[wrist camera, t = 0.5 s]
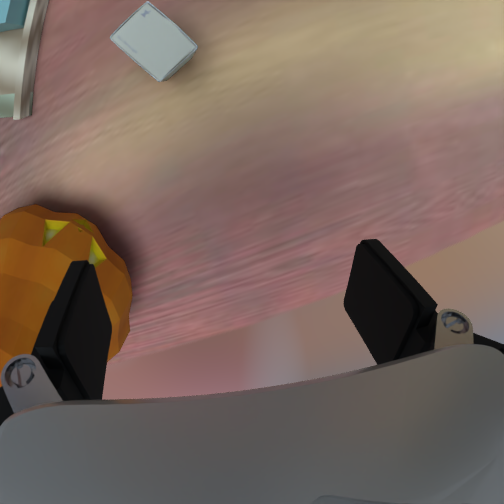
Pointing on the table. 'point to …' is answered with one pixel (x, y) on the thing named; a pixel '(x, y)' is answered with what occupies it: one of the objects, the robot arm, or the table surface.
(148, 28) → the skincare box
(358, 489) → the robot arm
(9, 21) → the block
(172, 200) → the table surface
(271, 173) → the table surface
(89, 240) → the decorative pumpkin
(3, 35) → the twin rail frame
